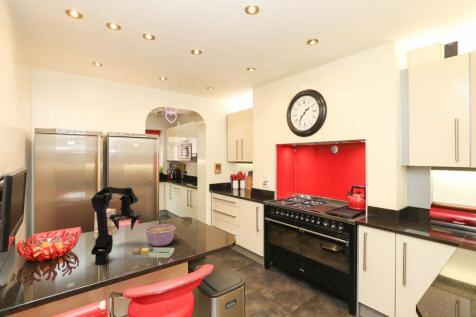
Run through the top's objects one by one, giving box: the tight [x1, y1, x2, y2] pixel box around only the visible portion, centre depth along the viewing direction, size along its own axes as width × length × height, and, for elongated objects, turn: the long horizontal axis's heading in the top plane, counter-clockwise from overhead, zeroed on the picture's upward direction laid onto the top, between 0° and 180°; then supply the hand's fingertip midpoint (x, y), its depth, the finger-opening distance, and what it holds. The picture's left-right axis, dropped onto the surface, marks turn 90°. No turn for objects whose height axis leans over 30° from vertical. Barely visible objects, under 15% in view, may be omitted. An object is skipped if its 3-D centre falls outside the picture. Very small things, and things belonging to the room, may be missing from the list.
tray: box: [148, 247, 175, 259], centre depth 142 cm, size 9×13×3 cm
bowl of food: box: [145, 223, 176, 247], centre depth 161 cm, size 20×20×12 cm
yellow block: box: [140, 247, 150, 254], centre depth 142 cm, size 4×4×3 cm
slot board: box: [124, 247, 155, 259], centre depth 142 cm, size 11×14×2 cm
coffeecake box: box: [93, 208, 117, 239], centre depth 179 cm, size 15×7×20 cm, turn 171°
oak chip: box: [131, 247, 143, 254], centre depth 142 cm, size 4×4×3 cm
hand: (124, 229), depth 153 cm, fingers open, 9 cm apart
